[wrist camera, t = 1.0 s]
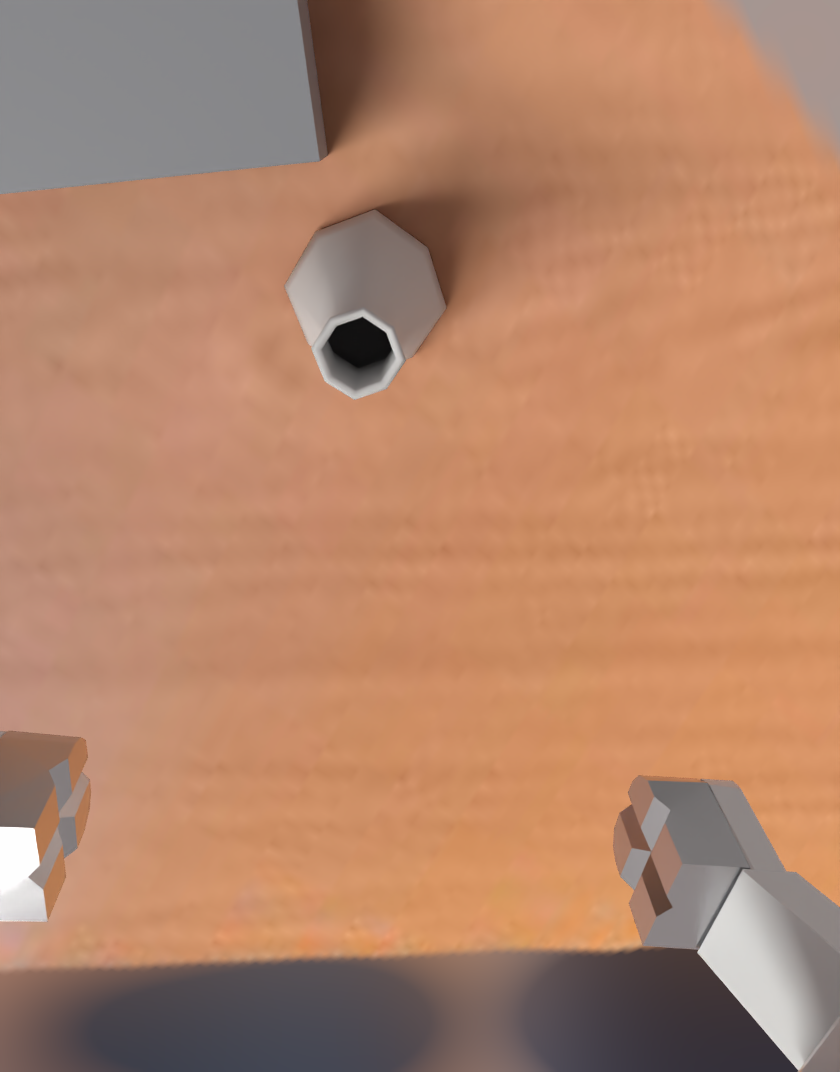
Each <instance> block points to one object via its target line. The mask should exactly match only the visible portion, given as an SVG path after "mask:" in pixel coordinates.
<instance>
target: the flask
mask: <svg viewBox="0 0 840 1072" xmlns="http://www.w3.org/2000/svg"><path fill="white" fill-rule="evenodd" d="M284 287H285V289H286V292H287V294H288V297H289V299H290V301H291V304H292V306H293V309H294V311H295V313H296V316H297V318H298V321H299V323H300V326H301V328H302V330H303V333H304V335H305V338H306V340H307V342H308V344H309V345H311V346H312V348H311V349H312V351H313V354H314V356H315V359H316V361H317V364H318V366H319V368H320V371H321V373H322V376H323V378H324V380H325V382H327V383H328V384H330V385H331V386H333V387H335V388H336V389H338V390H339V391H341V392H343V393H344V394H346V395H347V396H349V397H351V398H352V399H354V400H355V399H358V398H361V397H364V396H367V395H370V394H373V393H376V392H379V391H382V390H385V389H387V387H388V386H389V385H390V383H391V382H392V380H393V379H394V377H395V376H396V374H397V373H398V371H399V370H400V368H401V367H402V365H403V364H404V363H405V361H406V359H409V358H412V357H413V356H414V355H415V353H416V352H417V350H418V349H419V347H420V346H421V344H422V343H423V342H424V340H425V339H426V337H427V336H428V334H429V333H430V331H431V330H432V328H433V327H434V325H435V324H436V323H437V321H438V320H439V318H440V317H441V315H442V314H443V312H444V311H445V309H446V304H445V301H444V298H443V295H442V292H441V288H440V285H439V282H438V279H437V276H436V272H435V269H434V266H433V263H432V260H431V257H430V253H429V250H428V247H426V246H425V245H424V244H422V243H421V242H419V241H418V240H417V239H415V238H414V237H412V236H411V235H410V234H408V233H407V232H406V231H404V230H403V229H401V228H400V227H399V226H397V225H396V224H395V223H393V222H392V221H390V220H389V219H388V218H386V217H385V216H384V215H382V214H381V213H379V212H378V211H377V210H372V211H369V212H367V213H364V214H361V215H359V216H356V217H353V218H351V219H348V220H345V221H342V222H340V223H337V224H334V225H332V226H329V227H326V228H324V229H321V230H318V231H316V232H315V233H314V235H313V237H312V238H311V240H310V242H309V244H308V245H307V247H306V249H305V251H304V252H303V254H302V256H301V258H300V259H299V261H298V263H297V264H296V266H295V268H294V270H293V271H292V273H291V275H290V277H289V278H288V280H287V282H286V284H285V285H284Z"/></svg>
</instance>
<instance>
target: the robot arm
mask: <svg viewBox="0 0 840 1072" xmlns="http://www.w3.org/2000/svg"><path fill="white" fill-rule="evenodd" d="M87 758H88V753H87V746H86V740H85V739H83V738H81V737H71V736H60V735H49V734H39V733H28V732H17V731H0V921H41V922H48V919H49V917H50V914H51V912H52V910H53V907H54V905H55V902H56V900H57V897H58V895H59V893H60V890H61V888H62V885H63V883H64V880H65V878H66V872H65V863H64V858H65V857H67V856H68V855H69V854H71V853H72V852H73V851H75V850H76V849H77V848H78V846H79V843H80V840H81V838H82V835H83V833H84V830H85V826H86V822H87V818H88V813H89V809H90V797H91V788H90V779H89V778H88V777H87V776H86V775H85V774H84V773H83V772H82V770H83V767H84V765H85V763H86V760H87ZM628 794H629V797H630V800H631V803H632V805H630V806H629V807H627V808H626V809H624V810H623V811H622V812H620V813H619V816H618V819H617V822H616V825H615V828H614V842H613V848H614V855H615V861H616V865H617V868H618V871H619V874H620V877H621V878H622V879H623V880H624V881H625V882H626V883H627V884H628V885H629V886H631V887H632V888H633V889H634V892H633V895H632V897H631V900H630V902H629V905H630V908H631V911H632V914H633V917H634V920H635V923H636V926H637V929H638V932H639V935H640V938H641V941H642V944H643V946H656V947H670V948H684V949H698V954H699V955H700V956H701V957H702V958H703V959H704V961H705V962H706V963H707V964H708V965H709V967H710V968H711V969H712V970H713V971H714V972H715V974H716V975H717V976H718V977H719V978H720V979H721V980H722V982H723V983H724V984H725V985H726V986H727V988H728V989H729V990H730V991H731V992H732V993H733V995H734V996H735V997H736V998H737V999H738V1000H739V1001H740V1003H741V1004H742V1005H743V1006H744V1007H745V1009H746V1010H747V1011H748V1012H749V1013H750V1014H751V1016H752V1017H753V1018H754V1019H755V1020H756V1021H757V1023H758V1024H759V1025H760V1026H761V1027H762V1028H763V1030H764V1031H765V1032H766V1033H767V1034H768V1035H769V1037H770V1038H771V1039H772V1040H773V1041H774V1042H775V1044H776V1045H777V1046H778V1047H779V1048H780V1049H781V1051H782V1052H783V1053H784V1054H785V1055H786V1056H787V1057H788V1059H789V1060H790V1061H791V1062H792V1063H793V1065H795V1067H796V1068H797V1069H798V1072H840V907H839V906H837V905H836V904H835V903H834V902H832V901H831V900H830V899H829V898H827V897H826V896H825V895H824V894H822V893H821V892H820V891H819V890H817V889H816V888H815V887H814V886H812V885H811V884H810V883H809V882H807V881H806V880H805V879H804V878H802V877H801V876H800V875H799V874H797V873H796V872H788V871H786V870H785V868H784V866H783V864H782V862H781V861H780V859H779V857H778V855H777V853H776V852H775V850H774V848H773V846H772V844H771V843H770V841H769V839H768V837H767V835H766V834H765V832H764V830H763V828H762V826H761V825H760V823H759V821H758V819H757V817H756V816H755V814H754V812H753V810H752V808H751V807H750V805H749V803H748V801H747V799H746V798H745V796H744V794H743V792H742V790H741V789H740V787H739V786H738V785H737V784H736V783H734V782H733V781H727V780H710V779H700V780H699V779H694V778H677V777H660V776H642V775H639V776H638V777H637V778H635V779H634V780H633V782H632V784H631V786H630V789H629V791H628Z"/></svg>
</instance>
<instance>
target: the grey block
mask: <svg viewBox="0 0 840 1072" xmlns="http://www.w3.org/2000/svg"><path fill="white" fill-rule="evenodd" d="M326 156H328V151H327V144H326V137H325V129H324V122H323V114H322V107H321V99H320V92H319V84H318V77H317V70H316V62H315V55H314V47H313V40H312V32H311V25H310V18H309V10H308V3H307V0H0V194H6V193H16V192H25V191H35V190H45V189H54V188H64V187H74V186H84V185H93V184H103V183H113V182H123V181H132V180H142V179H152V178H161V177H171V176H181V175H191V174H200V173H210V172H220V171H229V170H239V169H249V168H259V167H268V166H278V165H288V164H297V163H307V162H317V161H321V160H322V159H323V158H325V157H326Z"/></svg>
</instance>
